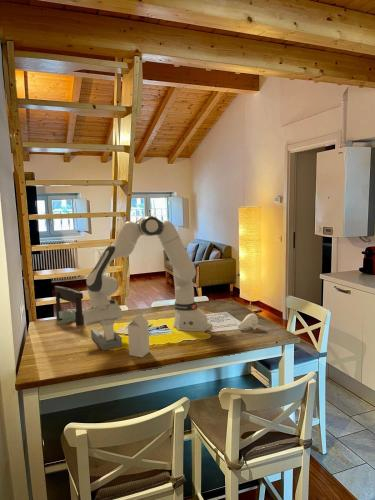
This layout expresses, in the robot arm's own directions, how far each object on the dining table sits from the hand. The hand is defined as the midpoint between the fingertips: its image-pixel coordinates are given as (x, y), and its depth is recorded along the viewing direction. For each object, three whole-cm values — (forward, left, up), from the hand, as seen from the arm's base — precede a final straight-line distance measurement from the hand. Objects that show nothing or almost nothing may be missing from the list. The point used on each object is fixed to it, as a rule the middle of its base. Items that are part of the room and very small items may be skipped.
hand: (107, 328), depth 186 cm
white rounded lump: (-64, -43, -8) cm, 78 cm away
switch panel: (+2, -1, -8) cm, 8 cm away
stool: (+45, -23, -8) cm, 51 cm away
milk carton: (-23, +7, -8) cm, 25 cm away
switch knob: (-2, +2, -4) cm, 5 cm away
